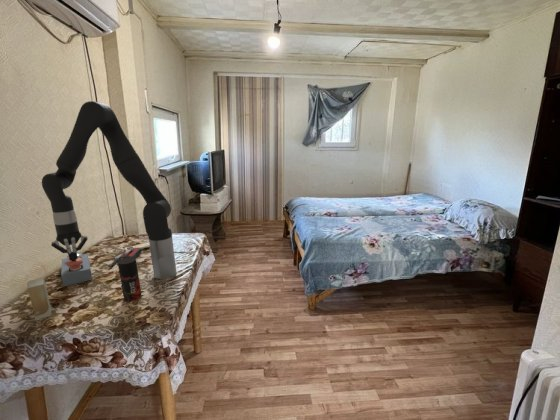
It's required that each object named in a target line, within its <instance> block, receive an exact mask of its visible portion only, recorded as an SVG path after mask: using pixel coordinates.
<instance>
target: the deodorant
mask: <svg viewBox="0 0 560 420" xmlns="http://www.w3.org/2000/svg"><path fill="white" fill-rule="evenodd" d="M117 265H118V271H119V277H120V283H121V288H122V294H123V301H124V302H127V303H129V302H135V301H137V300H139V299H141V298H142V289H141V283H140V277H139V270H138V264H137V258H133V257H129V258H124V259H121V260H119V261H118V262H117Z"/></svg>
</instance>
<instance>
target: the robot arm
mask: <svg viewBox="0 0 560 420" xmlns="http://www.w3.org/2000/svg"><path fill="white" fill-rule="evenodd" d="M97 129H99V130H100V132H101V133H102V134H103V136H104V138H105V139H106V141H107V143H108V146H109V149H110V153H111V157H112V161H113V164H114V165H115V167H116V168H117V170H118V171H119V173H120V175H121V177H123V179H124V180H125V181H126V182H127V183H128V184H129V185H130V186H132V187H133V188H134V189H136V190H137V192H138V193H139V194H140V195H141V196H142V198H143V200H144V201H145V203H146V204H145V205H144V207H143V210H142V218H143V224H144V228H145V229H144V230H145V232H146V234H147V236H148V242H149V251H150V258H151V264H152V272H153V277H154V278H155V279H158V280H161V281H162V280H165V279H169V278H173V277H176V274H177V267H176V266H177V265H176V258H175V248H174V240H173V231H172V229H171V228H169V222H168V217H169V216H170V215H171V211H172V208H171V207H172V206H171V204H170V202H169V201H168V200H167V198H166V197H165V196H164V195H163V193H162V191H160V188H158V187H157V185H156V183H155V181H154V180H153V178H152V176H151V174H150V173H149V171H148V170H147V168H146V166H145V164H144V162H143V161H142V159H141V158H140V156H139V154H138V153H137V151H136V150H135V147H133V145H132V143H131V141H130V140H129V138H128V136H127V135H126V134H125V132H124V130H123V128H122V126H121V124H120V121H119V120H118V118H117V116H116V113H115V112H114V110H113V109H112V108H111V107H110V105H108V104H106V103H103V102H98V101H92V100H91V101H85V102H84V103H83V104H82V105H81V107H80V109H79V111H78V114H77V118H76V121H75V122H74V125H73V128H72V130H71V133H70V136H69V138H68V140H67V143H66V144H65V146H64V148H63V149H62V151H61V153H60V155H59V156H58V158H57V159H56V162H55V165H56V167H57V170H56V171H55V172H51V173H46V174H45V175H44V176H43V177H42V179H41V185H42V189H43V191H44V193H45V195H46V197H47V198H48V200H49V202H50V206H51V210H52V217H53V218H52V219H53V223H54V227H55V233H56V236H55V237H56V239H55V240H54V241H51V246H52V247H53V248H54V249H56V250H58V251H59V252H61V253H62V254H67V255H69V260H70V261H71V260H72V261H76V259H77V258H78V257H77V253H78V251H81V250H82V248H83V247H84V246H85V244H86V242H87V241H88V239H89V238H88V236H87V235H85V236H84V235H83V234H82V233H81V232H80V229H79V225H78V219H77V218H78V217H77V215H76V211H75V208H74V204H73V200H72V199H73V198H72V197H71V196H70V195H66V194H65V191H64V190H65V189H68V188H70V187H71V185H72V184H73V182H74V181H75V177H76V174H77V170H78V168H79V167H80V166H81V164H82V162H83V161H84V158H85V156H86V154H87V149H88V144H89V141H90V138H91V137H92V135H93V133H94V132H96V130H97ZM79 240H80V243H78V242H79ZM60 244H62V245H63V246H65V248H64V247H63V246H62V245H60ZM76 244H78V245H77V246H76Z"/></svg>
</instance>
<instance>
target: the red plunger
mask: <svg viewBox="0 0 560 420" xmlns="http://www.w3.org/2000/svg"><path fill="white" fill-rule="evenodd" d="M82 263H83V261H82V258H77V259H76V261H72V260H71V261H70V260H68V261H67V262H66V264H67V266H68V267H70V268H71V271H75V270H79V269H81V265H80V264H82Z"/></svg>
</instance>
